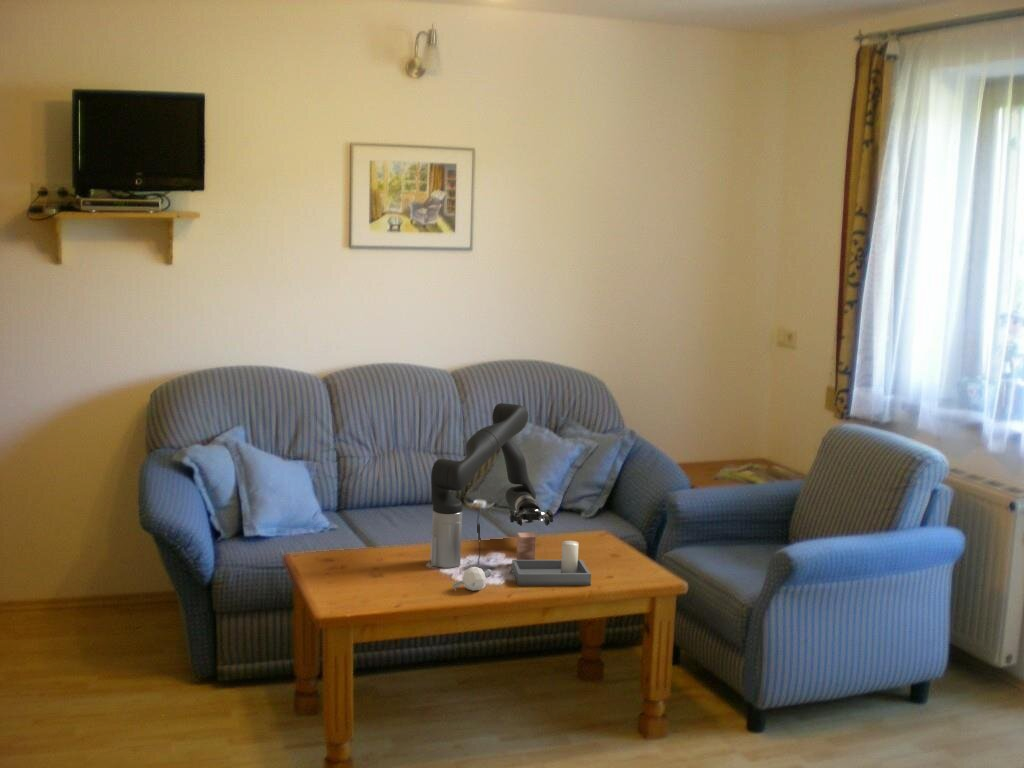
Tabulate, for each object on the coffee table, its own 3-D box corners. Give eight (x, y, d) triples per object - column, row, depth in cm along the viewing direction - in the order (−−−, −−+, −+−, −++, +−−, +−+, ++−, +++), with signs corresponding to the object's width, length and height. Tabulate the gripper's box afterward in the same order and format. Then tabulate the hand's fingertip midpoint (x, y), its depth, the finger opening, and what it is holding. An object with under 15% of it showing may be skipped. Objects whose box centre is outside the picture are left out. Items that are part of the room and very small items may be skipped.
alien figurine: (460, 602, 318) (498, 586, 321) (453, 580, 317) (491, 564, 320) (454, 593, 325) (491, 578, 328) (447, 572, 324) (484, 557, 327)
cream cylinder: (562, 577, 334) (563, 545, 333) (559, 571, 339) (560, 540, 338) (578, 577, 335) (580, 545, 334) (575, 571, 340) (576, 540, 339)
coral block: (518, 568, 345) (519, 537, 343) (516, 563, 350) (517, 532, 348) (534, 568, 345) (535, 537, 344) (531, 563, 350) (533, 532, 349)
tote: (518, 585, 328) (518, 574, 328) (511, 570, 342) (512, 559, 341) (590, 585, 331) (591, 574, 331) (581, 570, 345) (581, 559, 344)
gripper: (506, 498, 371) (512, 511, 355) (548, 497, 373) (556, 511, 357) (506, 519, 372) (512, 534, 357) (547, 519, 374) (555, 533, 358)
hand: (534, 522), depth 357 cm, fingers open, 8 cm apart
